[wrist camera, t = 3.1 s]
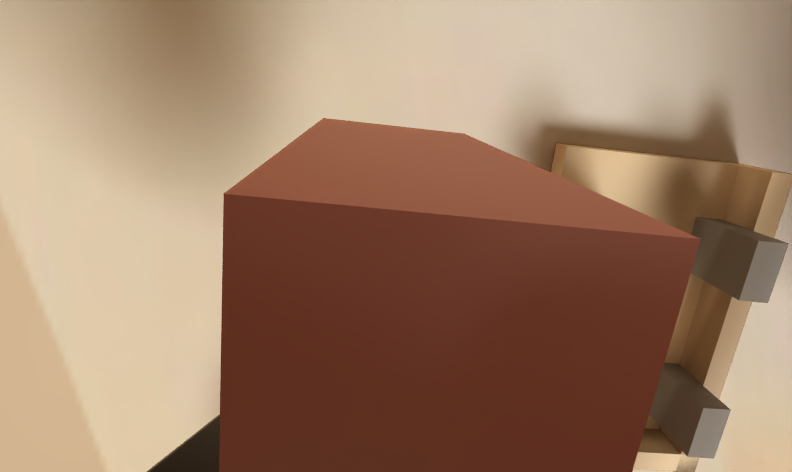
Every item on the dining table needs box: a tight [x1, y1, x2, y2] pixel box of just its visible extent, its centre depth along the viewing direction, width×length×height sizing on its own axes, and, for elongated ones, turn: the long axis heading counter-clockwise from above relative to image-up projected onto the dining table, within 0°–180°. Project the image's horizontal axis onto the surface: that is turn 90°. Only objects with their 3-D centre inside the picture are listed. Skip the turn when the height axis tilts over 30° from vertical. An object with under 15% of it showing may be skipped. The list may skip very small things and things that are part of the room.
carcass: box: [551, 143, 792, 472], centre depth 18 cm, size 7×12×4 cm, turn 174°
